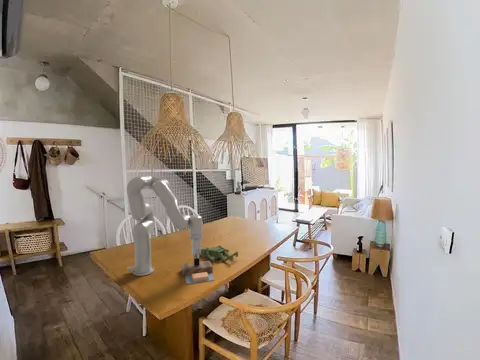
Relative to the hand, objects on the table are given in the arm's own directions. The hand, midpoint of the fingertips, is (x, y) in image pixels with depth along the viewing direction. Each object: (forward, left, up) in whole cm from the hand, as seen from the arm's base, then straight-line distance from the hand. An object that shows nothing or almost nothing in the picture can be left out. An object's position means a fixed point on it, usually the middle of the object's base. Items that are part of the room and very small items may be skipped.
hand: (196, 264), depth 159 cm
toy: (+17, +19, -5) cm, 26 cm away
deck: (0, 0, -5) cm, 5 cm away
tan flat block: (+1, -11, -2) cm, 11 cm away
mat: (0, -10, -5) cm, 11 cm away
